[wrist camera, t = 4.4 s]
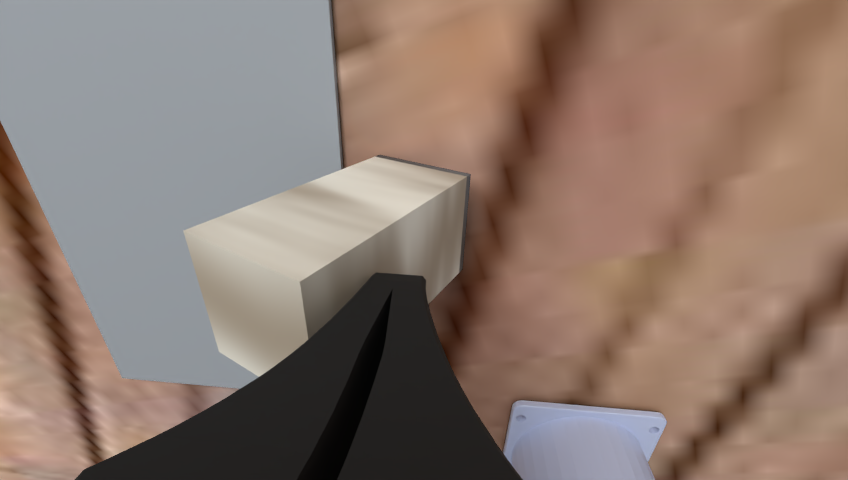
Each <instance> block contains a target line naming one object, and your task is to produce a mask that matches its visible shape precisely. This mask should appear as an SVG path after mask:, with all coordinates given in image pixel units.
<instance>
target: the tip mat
mask: <svg viewBox="0 0 848 480" xmlns="http://www.w3.org/2000/svg"><path fill="white" fill-rule="evenodd" d="M0 121H1V123H2V125H3V127H4V129H5V131H6V133H7V135H8V138H9V140H10V142H11V144H12V146H13V148H14V150H15V152H16V155H17V157H18V159H19V161H20V163H21V165H22V167H23V169H24V171H25V174H26V176H27V178H28V180H29V182H30V184H31V186H32V188H33V190H34V193H35V195H36V197H37V199H38V201H39V203H40V205H41V207H42V209H43V212H44V214H45V216H46V218H47V220H48V222H49V224H50V226H51V229H52V231H53V233H54V235H55V237H56V239H57V241H58V243H59V245H60V248H61V250H62V252H63V254H64V256H65V258H66V260H67V262H68V264H69V267H70V269H71V271H72V273H73V275H74V277H75V279H76V281H77V283H78V286H79V288H80V290H81V292H82V294H83V296H84V298H85V300H86V302H87V305H88V307H89V309H90V311H91V313H92V315H93V317H94V319H95V322H96V324H97V326H98V328H99V330H100V332H101V334H102V336H103V338H104V341H105V343H106V345H107V347H108V349H109V351H110V353H111V355H112V357H113V360H114V362H115V364H116V366H117V368H118V370H119V372H120V374H121V376H122V378H127V379H138V380H149V381H161V382H172V383H183V384H194V385H205V386H217V387H228V388H239V389H241V388H242V387H244V386H246V385H247V384H249V383H250V382H252V381H253V380H255V379H256V378H258V376H257V375H255V374H254V373H252V372H250V371H249V370H247V369H246V368H244V367H242V366H241V365H239V364H238V363H236V362H234V361H233V360H231V359H230V358H228V357H226V356H225V355H223V354H222V353H220V352H219V350H218V347H217V343H216V340H215V336H214V333H213V330H212V326H211V323H210V320H209V316H208V313H207V309H206V306H205V303H204V299H203V296H202V293H201V289H200V286H199V282H198V279H197V276H196V272H195V269H194V266H193V262H192V259H191V255H190V252H189V249H188V245H187V242H186V239H185V235H184V232H183V231H184V230H186V229H189V228H191V227H194V226H196V225H199V224H202V223H204V222H207V221H209V220H212V219H215V218H217V217H220V216H222V215H225V214H228V213H230V212H233V211H235V210H238V209H241V208H243V207H246V206H248V205H251V204H253V203H256V202H259V201H261V200H264V199H266V198H269V197H272V196H274V195H277V194H279V193H282V192H285V191H287V190H290V189H292V188H295V187H298V186H300V185H303V184H305V183H308V182H310V181H313V180H316V179H318V178H321V177H323V176H326V175H329V174H331V173H334V172H336V171H339V170H342V169H343V157H342V143H341V130H340V116H339V102H338V88H337V75H336V61H335V47H334V33H333V20H332V6H331V0H0Z"/></svg>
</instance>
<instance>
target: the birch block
mask: <svg viewBox="0 0 848 480" xmlns="http://www.w3.org/2000/svg"><path fill="white" fill-rule="evenodd" d="M470 176H471V174H467V173H463V172H458V171H453V170H449V169H444V168H439V167H434V166H430V165H425V164H420V163H416V162H411V161H406V160H402V159H397V158H392V157H387V156H383V155H378V156H375V157H373V158H370V159H367V160H365V161H362V162H360V163H357V164H355V165H352V166H349V167H347V168H344V169H342V170H339V171H336V172H334V173H331V174H329V175H326V176H323V177H321V178H318V179H316V180H313V181H310V182H308V183H305V184H303V185H300V186H298V187H295V188H292V189H290V190H287V191H285V192H282V193H279V194H277V195H274V196H272V197H269V198H266V199H264V200H261V201H259V202H256V203H253V204H251V205H248V206H246V207H243V208H241V209H238V210H235V211H233V212H230V213H228V214H225V215H222V216H220V217H217V218H215V219H212V220H209V221H207V222H204V223H202V224H199V225H196V226H194V227H191V228H189V229H186V230H184V231H183V232H184V235H185V239H186V242H187V245H188V249H189V252H190V255H191V259H192V262H193V266H194V269H195V272H196V276H197V279H198V282H199V286H200V289H201V293H202V296H203V299H204V303H205V306H206V309H207V313H208V316H209V320H210V323H211V326H212V330H213V333H214V336H215V340H216V343H217V347H218V350H219V352H220V353H222V354H223V355H225V356H226V357H228V358H230V359H231V360H233V361H234V362H236V363H238V364H239V365H241V366H242V367H244V368H246V369H247V370H249V371H250V372H252V373H254V374H255V375H257V376H258V377H260V376H261V375H263V374H264V373H266V372H267V371H268V370H270V369H271V368H273V367H274V366H275V365H277V364H278V363H279V362H281V361H282V360H283V359H285V358H286V357H287V356H289V355H290V354H291V353H292V352H294V351H295V350H296V349H297V348H299V347H300V346H301V345H302V344H304V343H305V342H306V341H307V340H308V339H309V338H310V337H312V336H313V335H314V334H315V333H316V332H317V331H318V330H319V329H320V328H322V327H323V326H324V325H325V324H326V323H327V322H328V321H329V320H330V319H331V318H332V317H333V316H334V315H335V314H336V313H337V312H338V311H339V310H340V309H341V308H342V307H343V306H344V305H345V304H346V303H347V302H348V301H349V300H350V299H351V298H352V297H353V296H354V295H355V294H356V293H357V292H358V291H359V290H360V288H361V287H362V286H363V285H364V284H365V283H366V282H367V281H368V279H369V278H370V277H371V276H372V275H373V274H375V273H376V272H377V273H391V274H405V275H419V276H423V277H424V278H425V279H426V295H427V300H428V304H429V303H430V302H431V301H432V300H433V299H434V298H435V297H436V296H437V295H438V294H439V293H440V292H441V291H442V290H443V289H444V288H445V287H446V286H447V285H448V284H449V283H450V282H451V281H452V280H453V279H454V277H455V276H456V275H457V274H458V273H459V272H460V271H461V270H462V268H463V257H464V245H465V233H466V222H467V210H468V199H469V187H470Z"/></svg>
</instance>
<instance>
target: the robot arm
mask: <svg viewBox="0 0 848 480" xmlns="http://www.w3.org/2000/svg"><path fill="white" fill-rule="evenodd" d="M666 423H667V421H666V419H665V417H664V415H663V414H661V413H659V412H651V411H640V410H629V409H617V408H606V407H594V406H583V405H571V404H560V403H548V402H537V401H525V400H519V401H516V402H515V403H513V405H512V409H511V414H510V419H509V424H508V430H507V435H506V440H505V445H504V450H503V452H502V451H501V450H500V448H499V447H498V446H497V444H496V443H495V441H494V439H493V438H492V436H491V435H490V433H489V432H488V430H487V429H486V427H485V426H484V424H483V423H482V421H481V420H480V418H479V417H478V415H477V413H476V412H475V410H474V409H473V407H472V405H471V404H470V402H469V400H468V398H467V397H466V395H465V393H464V391H463V390H462V388H461V386H460V384H459V382H458V380H457V378H456V376H455V374H454V372H453V370H452V368H451V366H450V364H449V362H448V360H447V357H446V355H445V353H444V350H443V348H442V345H441V343H440V340H439V338H438V335H437V332H436V329H435V326H434V323H433V320H432V317H431V313H430V309H429V305H428V300H427V295H426V279H425V278H424V277H423V276H419V275H405V274H391V273H377V272H376V273H375V274H373V275H372V276H371V277H370V278H369V279H368V281H367V282H366V283H365V284H364V285H363V286H362V287H361V288H360V290H359V291H358V292H357V293H356V294H355V295H354V296H353V297H352V298H351V299H350V300H349V301H348V302H347V303H346V304H345V305H344V306H343V307H342V308H341V309H340V310H339V311H338V312H337V313H336V314H335V315H334V316H333V317H332V318H331V319H330V320H329V321H328V322H327V323H326V324H325V325H324V326H323V327H322V328H320V329H319V330H318V331H317V332H316V333H315V334H314V335H313V336H312V337H310V338H309V339H308V340H307V341H306V342H305V343H304V344H302V345H301V346H300V347H299V348H297V349H296V350H295V351H294V352H292V353H291V354H290V355H289V356H287V357H286V358H285V359H283V360H282V361H281V362H279V363H278V364H277V365H275V366H274V367H273V368H271V369H270V370H268V371H267V372H266V373H264V374H263V375H261V376H260V377H258V378H256V379H255V380H253V381H252V382H250V383H249V384H247V385H246V386H244V387H242V388H241V389H239V390H238V391H236V392H235V393H233V394H232V395H230V396H228V397H227V398H225V399H223V400H222V401H220V402H218V403H217V404H215V405H213V406H211V407H210V408H208V409H206V410H204V411H203V412H201V413H199V414H197V415H195V416H193V417H192V418H190V419H188V420H186V421H184V422H182V423H180V424H179V425H177V426H175V427H173V428H171V429H169V430H167V431H165V432H163V433H161V434H159V435H157V436H155V437H153V438H151V439H149V440H147V441H145V442H142V443H140V444H138V445H136V446H134V447H132V448H130V449H128V450H126V451H123V452H121V453H119V454H117V455H115V456H113V457H111V458H109V459H106V460H104V461H102V462H100V463H98V464H96V465H93V466H91V467H89V468H86V469H84V470H83V471H82V472H81V473H80V475H79V476H78V477H77V478H76V479H75V480H655V478H654V476H653V474H652V471H651V469H650V467H649V464H648V461H649V459H650V457H651V455H652V453H653V451H654V449H655V447H656V444H657V442H658V440H659V438H660V436H661V434H662V432H663V430H664V428H665V426H666Z"/></svg>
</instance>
